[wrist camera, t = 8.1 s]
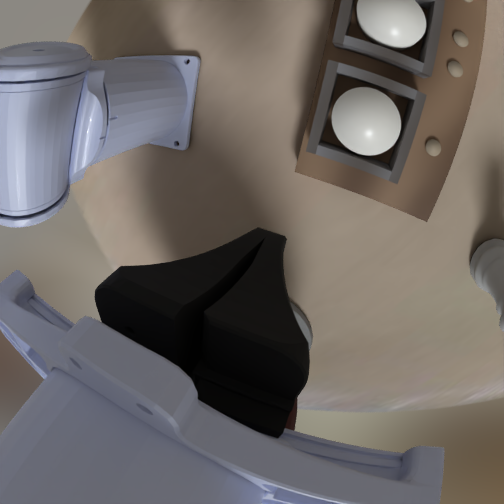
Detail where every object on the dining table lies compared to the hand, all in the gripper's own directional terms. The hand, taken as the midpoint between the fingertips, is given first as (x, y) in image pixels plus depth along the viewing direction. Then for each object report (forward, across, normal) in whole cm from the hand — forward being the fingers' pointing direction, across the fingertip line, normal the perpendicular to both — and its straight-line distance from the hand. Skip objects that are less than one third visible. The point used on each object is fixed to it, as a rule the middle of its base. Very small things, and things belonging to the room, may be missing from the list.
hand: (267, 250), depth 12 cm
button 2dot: (+8, -3, -13) cm, 16 cm away
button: (+8, -3, -6) cm, 11 cm away
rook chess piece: (+10, -17, 0) cm, 20 cm away
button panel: (+10, -4, -13) cm, 17 cm away
